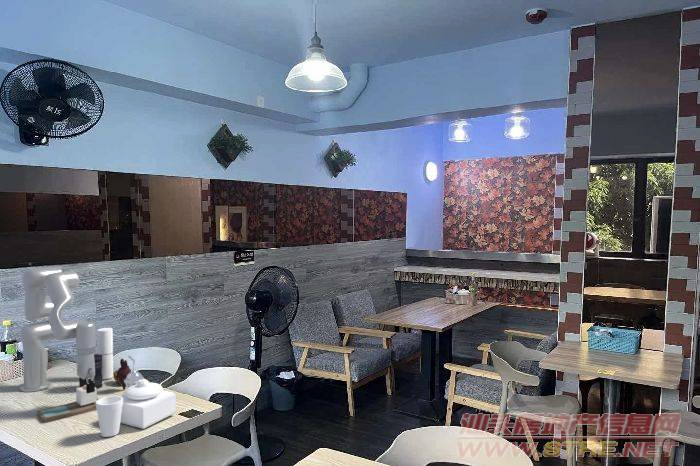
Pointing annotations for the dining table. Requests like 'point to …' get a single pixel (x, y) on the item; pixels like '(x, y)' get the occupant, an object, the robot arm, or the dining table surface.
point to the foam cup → (109, 414)
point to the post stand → (64, 411)
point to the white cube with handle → (85, 396)
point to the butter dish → (146, 404)
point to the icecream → (123, 372)
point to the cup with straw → (133, 376)
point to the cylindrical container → (106, 350)
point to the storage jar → (98, 371)
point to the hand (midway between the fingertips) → (87, 389)
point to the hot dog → (116, 378)
